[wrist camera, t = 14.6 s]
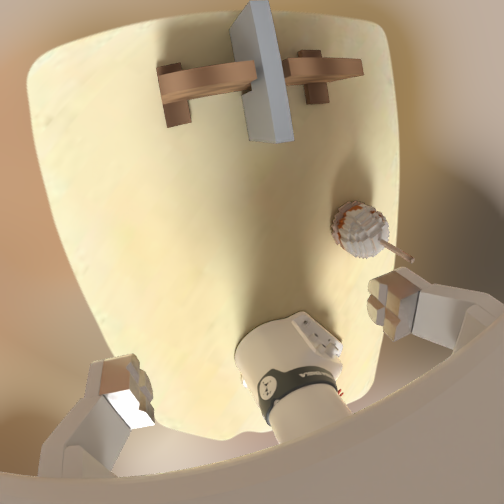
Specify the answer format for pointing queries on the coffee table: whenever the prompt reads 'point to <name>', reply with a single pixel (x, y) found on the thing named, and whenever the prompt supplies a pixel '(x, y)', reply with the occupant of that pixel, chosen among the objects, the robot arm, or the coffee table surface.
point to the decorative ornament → (363, 231)
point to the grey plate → (262, 74)
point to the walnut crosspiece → (248, 80)
